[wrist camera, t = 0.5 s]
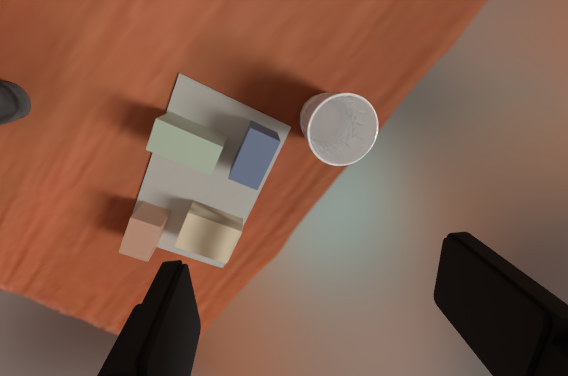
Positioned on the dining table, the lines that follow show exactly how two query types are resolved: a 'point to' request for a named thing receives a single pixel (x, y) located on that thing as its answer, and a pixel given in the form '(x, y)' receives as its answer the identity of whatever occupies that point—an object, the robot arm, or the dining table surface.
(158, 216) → the terracotta block
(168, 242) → the felt placemat
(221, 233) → the beech block
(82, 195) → the dining table surface
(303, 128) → the white cup
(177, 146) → the sage block
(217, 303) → the dining table surface
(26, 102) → the beverage cup
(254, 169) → the slate blue block
